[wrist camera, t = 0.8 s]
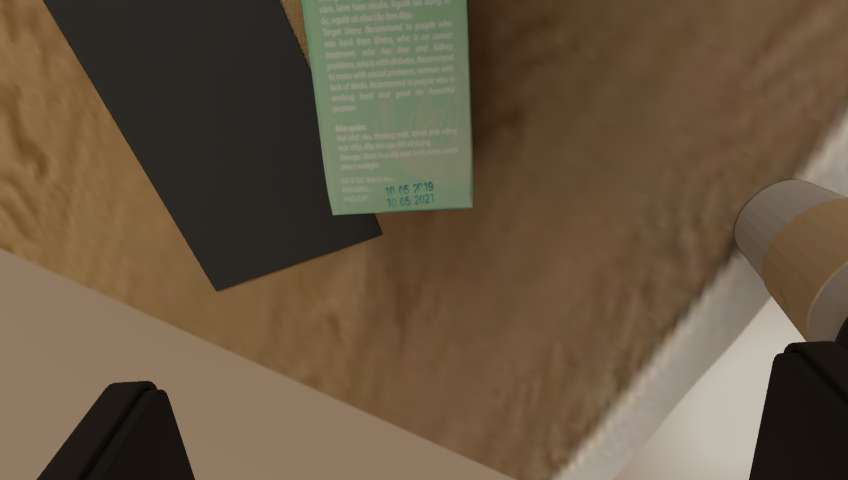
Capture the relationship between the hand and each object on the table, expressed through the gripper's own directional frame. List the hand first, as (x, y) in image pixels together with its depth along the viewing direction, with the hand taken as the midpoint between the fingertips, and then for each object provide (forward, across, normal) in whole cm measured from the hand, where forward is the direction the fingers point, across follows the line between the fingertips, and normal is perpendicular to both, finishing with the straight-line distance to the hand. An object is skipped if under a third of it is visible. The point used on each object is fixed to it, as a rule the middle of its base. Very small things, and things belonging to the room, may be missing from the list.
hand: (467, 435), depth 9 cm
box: (+28, +2, -2) cm, 28 cm away
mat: (+28, +13, +1) cm, 31 cm away
